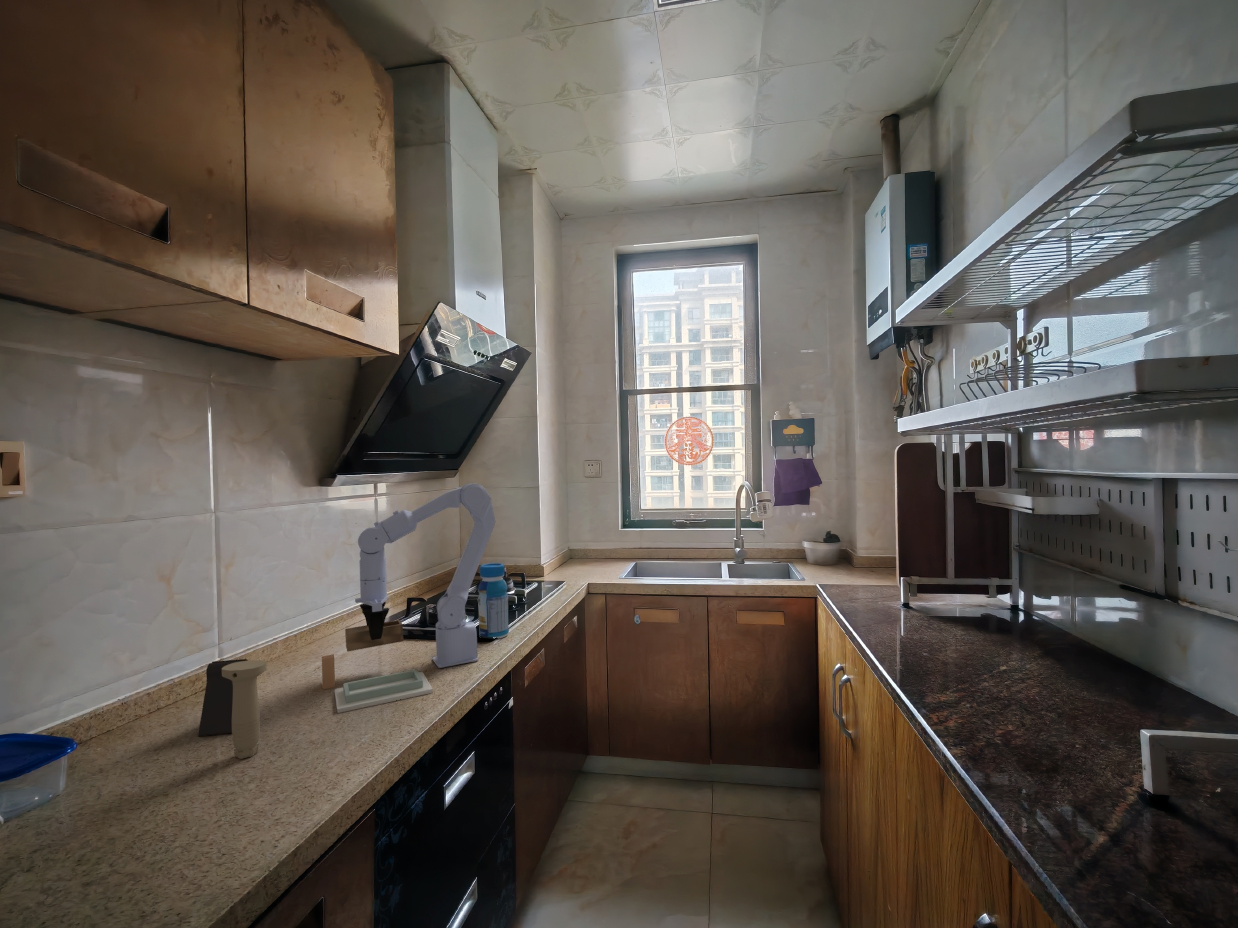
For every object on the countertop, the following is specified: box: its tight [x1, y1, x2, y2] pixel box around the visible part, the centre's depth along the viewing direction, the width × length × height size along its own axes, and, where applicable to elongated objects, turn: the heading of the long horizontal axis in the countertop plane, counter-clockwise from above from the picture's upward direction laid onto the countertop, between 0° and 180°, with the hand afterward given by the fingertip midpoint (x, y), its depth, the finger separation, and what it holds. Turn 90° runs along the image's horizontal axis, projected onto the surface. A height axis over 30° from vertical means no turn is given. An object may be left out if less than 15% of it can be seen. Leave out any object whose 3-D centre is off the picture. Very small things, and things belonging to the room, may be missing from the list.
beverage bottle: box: [477, 562, 510, 640], centre depth 158 cm, size 8×8×20 cm
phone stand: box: [197, 658, 249, 738], centre depth 106 cm, size 9×6×12 cm, turn 8°
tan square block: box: [321, 654, 336, 690], centre depth 124 cm, size 2×2×6 cm
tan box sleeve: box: [344, 619, 404, 653], centre depth 132 cm, size 12×5×4 cm, turn 119°
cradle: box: [334, 668, 434, 714], centre depth 119 cm, size 18×12×2 cm, turn 119°
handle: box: [222, 659, 268, 760], centre depth 94 cm, size 5×6×15 cm
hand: (375, 636), depth 132 cm, fingers closed on tan box sleeve, 5 cm apart
